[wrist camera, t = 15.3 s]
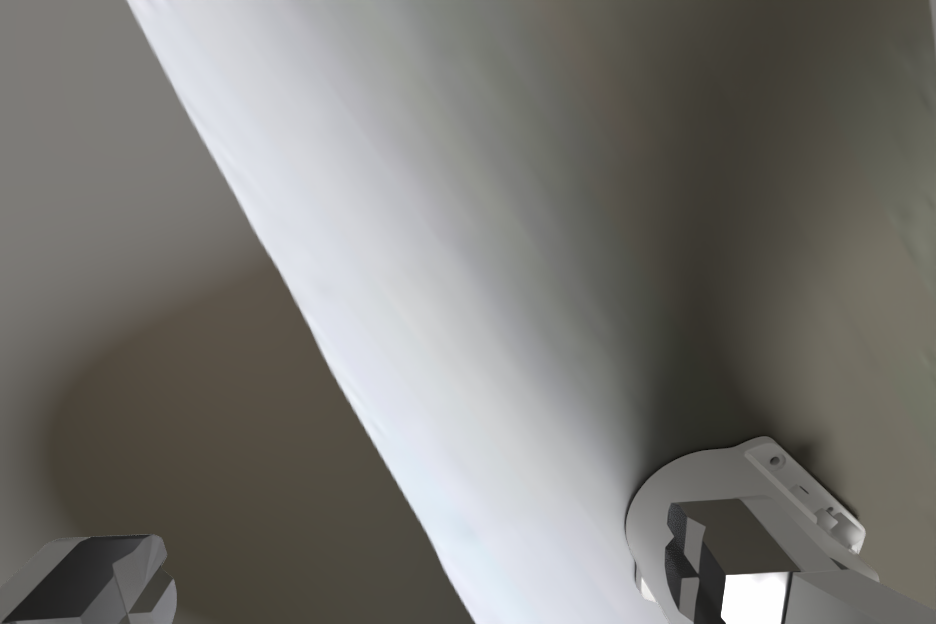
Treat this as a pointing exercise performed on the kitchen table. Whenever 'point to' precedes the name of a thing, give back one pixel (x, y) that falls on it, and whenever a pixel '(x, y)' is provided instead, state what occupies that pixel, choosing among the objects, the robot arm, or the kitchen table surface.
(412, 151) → the kitchen table surface
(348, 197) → the kitchen table surface
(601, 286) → the kitchen table surface
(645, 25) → the kitchen table surface
